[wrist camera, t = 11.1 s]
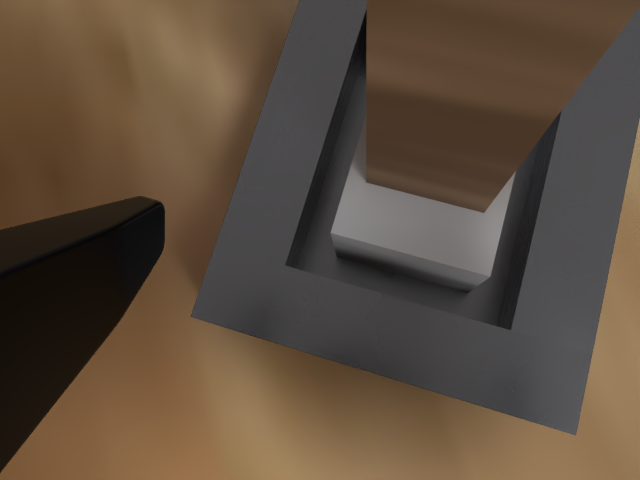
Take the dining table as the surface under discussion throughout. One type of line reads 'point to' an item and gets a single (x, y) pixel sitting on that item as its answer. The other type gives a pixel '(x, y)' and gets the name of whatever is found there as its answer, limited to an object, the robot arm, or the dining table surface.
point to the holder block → (410, 293)
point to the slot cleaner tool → (458, 124)
